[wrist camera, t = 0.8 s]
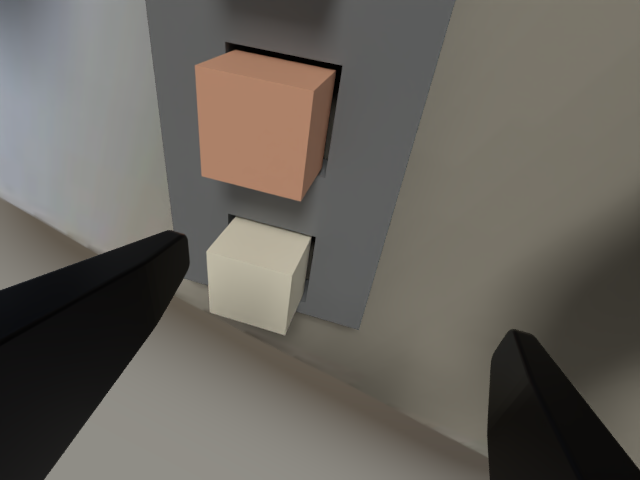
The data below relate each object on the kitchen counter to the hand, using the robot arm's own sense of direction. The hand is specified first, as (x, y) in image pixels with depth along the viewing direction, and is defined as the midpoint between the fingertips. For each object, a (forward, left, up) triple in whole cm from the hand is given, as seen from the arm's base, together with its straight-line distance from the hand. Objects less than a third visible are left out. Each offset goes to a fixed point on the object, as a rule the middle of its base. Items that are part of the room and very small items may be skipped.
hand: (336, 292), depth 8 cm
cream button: (+5, +9, -10) cm, 14 cm away
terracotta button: (+5, 0, -10) cm, 11 cm away
